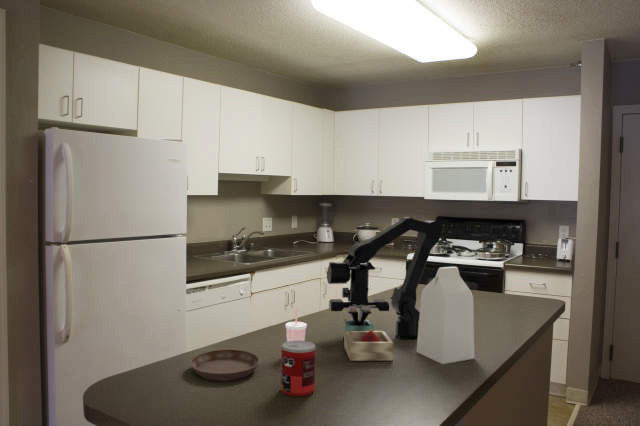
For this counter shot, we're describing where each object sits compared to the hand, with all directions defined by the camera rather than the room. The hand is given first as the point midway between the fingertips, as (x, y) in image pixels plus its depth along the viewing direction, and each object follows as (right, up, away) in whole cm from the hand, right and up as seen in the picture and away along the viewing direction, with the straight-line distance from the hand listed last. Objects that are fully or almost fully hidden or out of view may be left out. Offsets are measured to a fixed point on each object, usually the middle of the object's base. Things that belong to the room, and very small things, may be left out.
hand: (358, 331), depth 167 cm
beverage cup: (-19, -3, -18) cm, 26 cm away
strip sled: (+1, -2, -9) cm, 10 cm away
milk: (+25, -4, -14) cm, 29 cm away
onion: (+2, -3, -18) cm, 18 cm away
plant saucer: (-37, -3, -32) cm, 49 cm away
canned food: (-18, -4, -44) cm, 47 cm away
